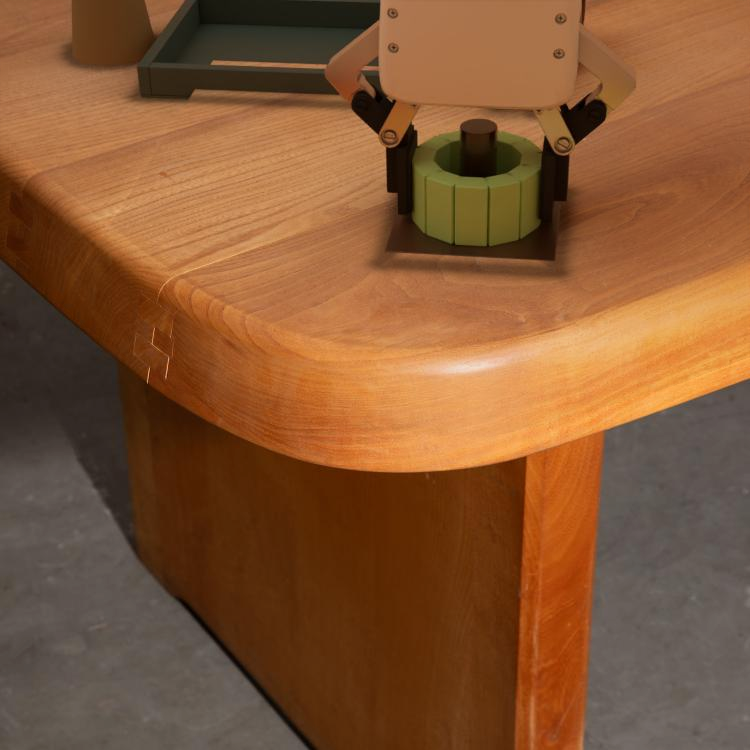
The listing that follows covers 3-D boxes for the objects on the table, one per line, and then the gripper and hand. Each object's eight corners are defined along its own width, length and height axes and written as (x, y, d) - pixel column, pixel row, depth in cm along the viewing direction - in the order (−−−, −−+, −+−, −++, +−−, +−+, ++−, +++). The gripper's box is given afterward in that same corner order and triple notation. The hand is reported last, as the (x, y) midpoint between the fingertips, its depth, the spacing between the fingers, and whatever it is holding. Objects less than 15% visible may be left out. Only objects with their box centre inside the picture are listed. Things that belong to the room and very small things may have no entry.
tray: (430, 34, 105) (430, -1, 103) (404, 114, 94) (403, 76, 92) (193, 26, 107) (190, -8, 106) (141, 103, 96) (136, 66, 95)
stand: (562, 199, 83) (568, 94, 80) (554, 280, 76) (559, 168, 72) (407, 192, 85) (406, 88, 81) (384, 270, 77) (381, 160, 74)
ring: (544, 188, 82) (547, 131, 80) (536, 249, 76) (539, 190, 74) (422, 182, 83) (421, 126, 81) (405, 242, 77) (404, 184, 75)
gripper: (666, -142, 71) (638, 183, 81) (318, -148, 74) (333, 169, 84) (667, -96, 65) (637, 250, 75) (288, -103, 68) (308, 232, 78)
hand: (477, 204), depth 79 cm, fingers closed on ring, 7 cm apart
